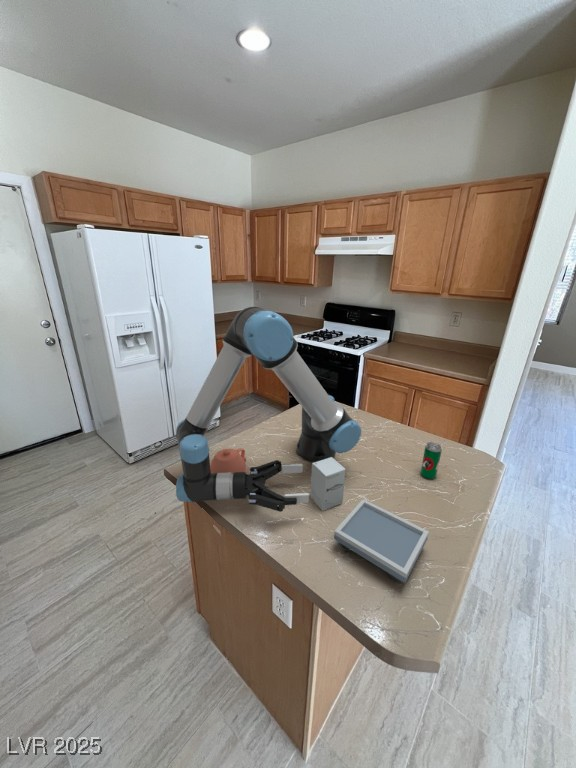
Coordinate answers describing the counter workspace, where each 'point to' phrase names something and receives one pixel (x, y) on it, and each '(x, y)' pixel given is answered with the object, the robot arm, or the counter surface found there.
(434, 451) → the soda can
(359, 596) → the counter surface
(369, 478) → the counter surface
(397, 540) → the shallow rimmed tray
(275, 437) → the counter surface
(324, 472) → the supplement box
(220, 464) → the sugar bowl
